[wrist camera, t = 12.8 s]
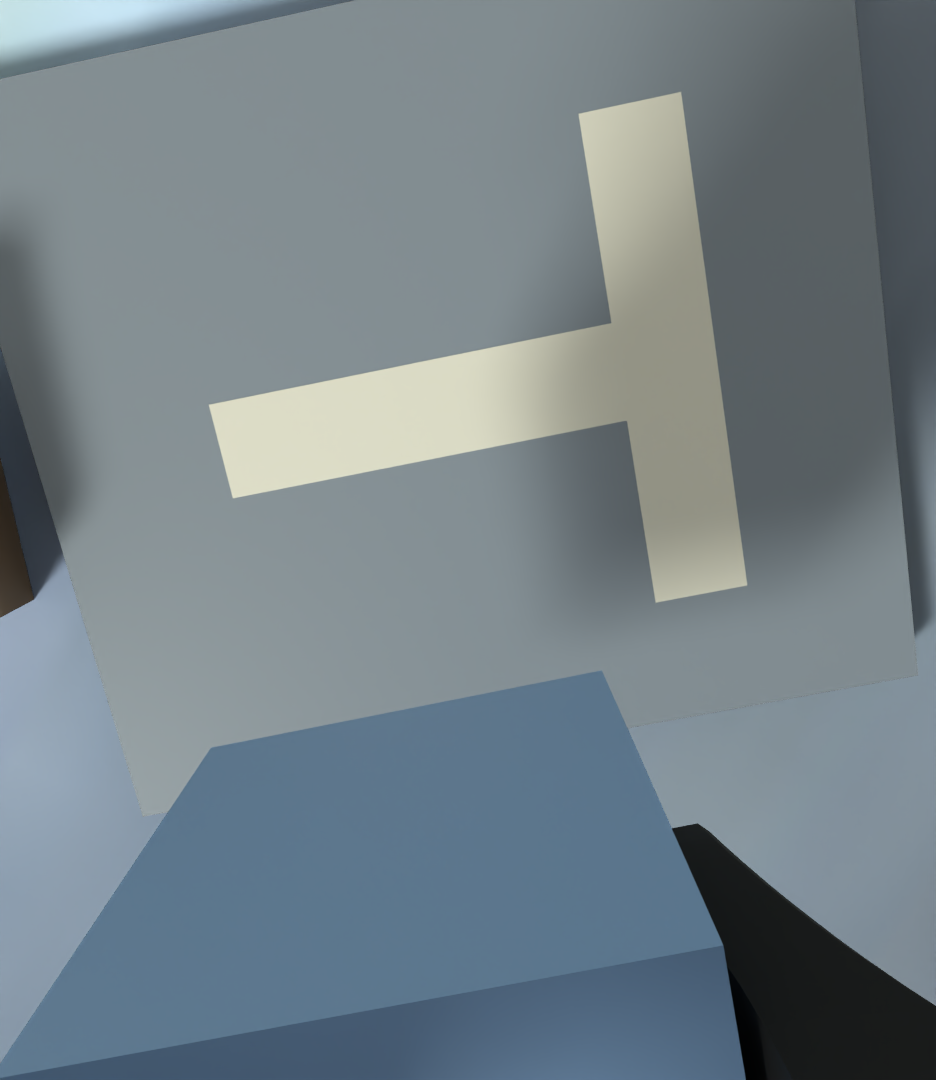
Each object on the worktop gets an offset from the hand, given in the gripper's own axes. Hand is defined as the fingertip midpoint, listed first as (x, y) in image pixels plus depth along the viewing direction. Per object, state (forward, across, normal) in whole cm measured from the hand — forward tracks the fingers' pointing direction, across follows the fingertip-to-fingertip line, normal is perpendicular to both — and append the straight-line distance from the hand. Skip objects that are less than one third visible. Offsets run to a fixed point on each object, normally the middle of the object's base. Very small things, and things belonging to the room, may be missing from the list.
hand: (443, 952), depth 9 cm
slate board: (+8, -1, -6) cm, 10 cm away
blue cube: (+2, 0, 0) cm, 2 cm away
